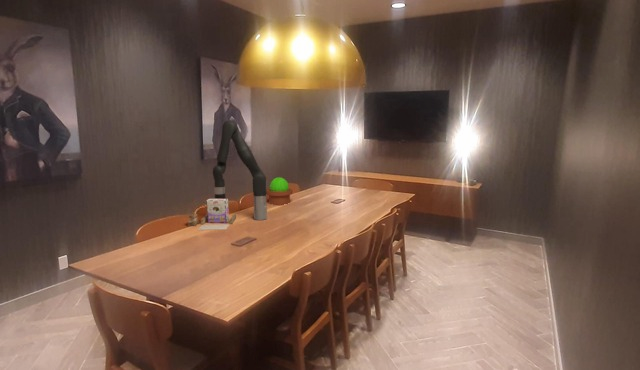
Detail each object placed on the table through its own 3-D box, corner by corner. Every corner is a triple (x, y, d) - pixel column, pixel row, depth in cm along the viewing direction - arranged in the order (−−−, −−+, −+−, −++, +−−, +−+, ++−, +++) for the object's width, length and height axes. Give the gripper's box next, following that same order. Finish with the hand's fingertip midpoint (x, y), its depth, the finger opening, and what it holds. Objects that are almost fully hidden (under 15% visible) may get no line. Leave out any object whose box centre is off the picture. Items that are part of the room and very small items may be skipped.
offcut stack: (198, 223, 248) (198, 213, 247) (195, 226, 240) (195, 215, 240) (191, 223, 248) (190, 213, 247) (187, 226, 240) (187, 216, 239)
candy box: (229, 221, 254) (228, 198, 251) (226, 223, 248) (225, 200, 245) (210, 220, 255) (209, 198, 252) (207, 223, 249) (205, 199, 246)
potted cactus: (281, 208, 298) (280, 178, 294) (261, 205, 309) (260, 177, 306) (297, 204, 316) (297, 176, 312) (277, 201, 328) (277, 174, 324)
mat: (229, 225, 243) (229, 224, 243) (225, 229, 231) (225, 229, 231) (202, 225, 242) (202, 225, 242) (197, 230, 230) (197, 229, 230)
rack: (236, 218, 263) (235, 213, 262) (232, 223, 246) (232, 219, 246) (206, 218, 261) (206, 214, 261) (201, 224, 245) (200, 219, 244)
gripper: (223, 194, 251) (224, 218, 254) (227, 191, 264) (227, 214, 267) (212, 194, 251) (213, 218, 253) (216, 191, 264) (217, 214, 266)
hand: (220, 216), depth 260 cm, fingers closed
